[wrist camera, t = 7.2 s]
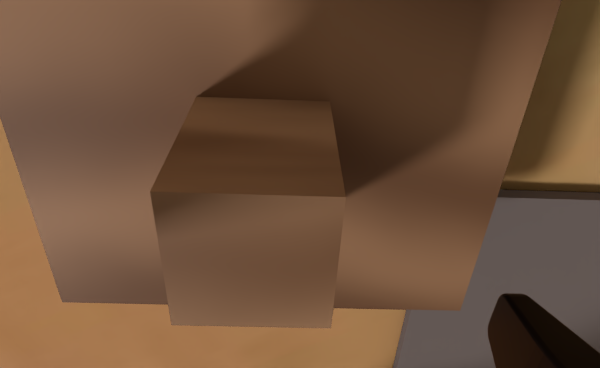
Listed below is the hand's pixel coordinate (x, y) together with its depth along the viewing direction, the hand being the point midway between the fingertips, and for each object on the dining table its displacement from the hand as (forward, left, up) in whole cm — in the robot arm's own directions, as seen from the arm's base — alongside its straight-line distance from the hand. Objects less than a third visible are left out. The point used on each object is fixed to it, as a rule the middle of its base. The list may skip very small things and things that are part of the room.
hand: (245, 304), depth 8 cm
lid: (0, 0, -7) cm, 7 cm away
